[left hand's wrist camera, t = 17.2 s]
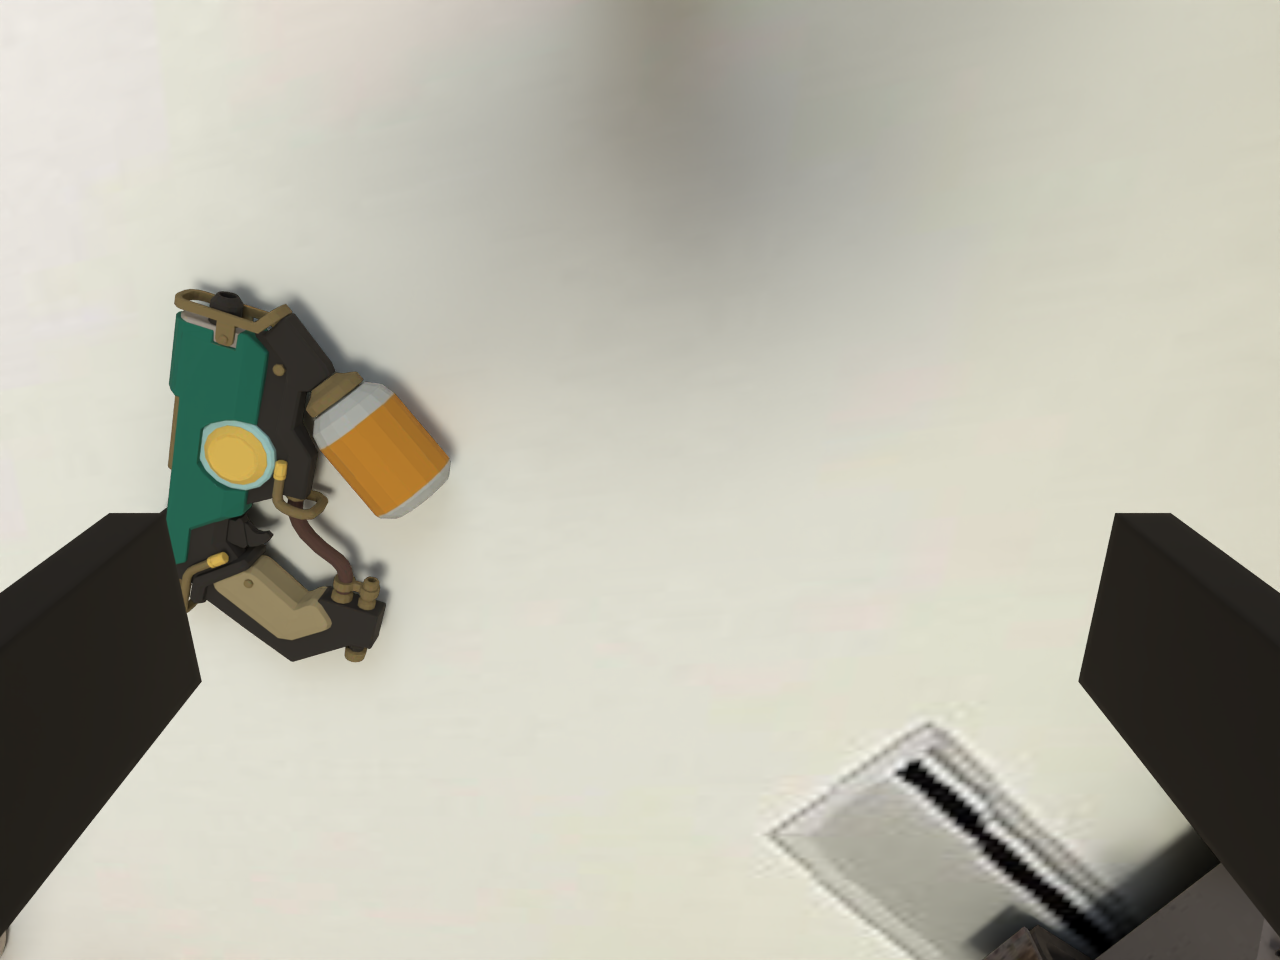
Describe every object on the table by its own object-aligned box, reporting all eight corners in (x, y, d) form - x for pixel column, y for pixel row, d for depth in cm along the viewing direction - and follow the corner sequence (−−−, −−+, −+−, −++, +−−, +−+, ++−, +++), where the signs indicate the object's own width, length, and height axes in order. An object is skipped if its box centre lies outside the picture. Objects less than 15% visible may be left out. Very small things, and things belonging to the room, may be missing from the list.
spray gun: (357, 665, 48) (98, 520, 45) (512, 428, 42) (222, 245, 39) (327, 716, 44) (41, 561, 41) (493, 463, 38) (169, 262, 35)
